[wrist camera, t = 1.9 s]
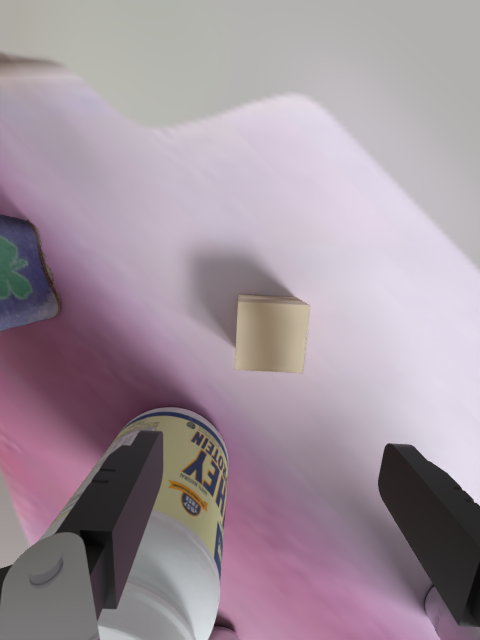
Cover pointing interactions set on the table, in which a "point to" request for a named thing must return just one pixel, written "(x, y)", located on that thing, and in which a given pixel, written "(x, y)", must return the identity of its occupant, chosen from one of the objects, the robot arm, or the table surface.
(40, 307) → the flask
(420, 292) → the table surface
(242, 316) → the beech cube
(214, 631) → the plastic bottle
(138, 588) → the supplement tub
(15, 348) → the table surface
